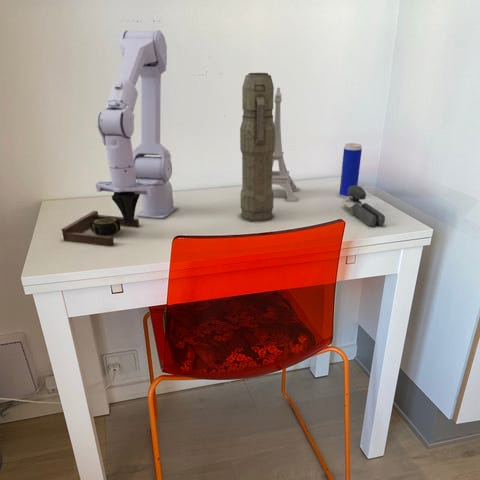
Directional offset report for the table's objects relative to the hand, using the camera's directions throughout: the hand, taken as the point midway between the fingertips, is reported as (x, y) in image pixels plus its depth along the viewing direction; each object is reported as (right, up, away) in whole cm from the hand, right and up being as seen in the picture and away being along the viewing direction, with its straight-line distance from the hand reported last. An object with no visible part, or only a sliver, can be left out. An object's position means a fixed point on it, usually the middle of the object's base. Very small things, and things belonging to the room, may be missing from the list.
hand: (129, 221), depth 116 cm
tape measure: (-7, -2, +4) cm, 8 cm away
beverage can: (+60, +14, +29) cm, 69 cm away
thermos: (+32, +4, +14) cm, 35 cm away
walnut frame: (-7, -2, +4) cm, 8 cm away
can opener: (+61, +4, +13) cm, 62 cm away
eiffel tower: (+38, +15, +31) cm, 52 cm away
